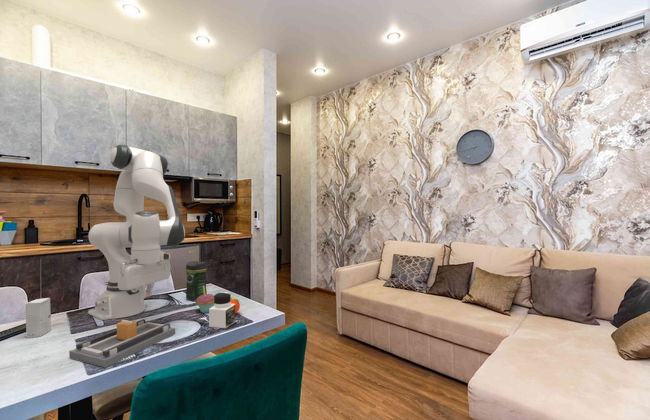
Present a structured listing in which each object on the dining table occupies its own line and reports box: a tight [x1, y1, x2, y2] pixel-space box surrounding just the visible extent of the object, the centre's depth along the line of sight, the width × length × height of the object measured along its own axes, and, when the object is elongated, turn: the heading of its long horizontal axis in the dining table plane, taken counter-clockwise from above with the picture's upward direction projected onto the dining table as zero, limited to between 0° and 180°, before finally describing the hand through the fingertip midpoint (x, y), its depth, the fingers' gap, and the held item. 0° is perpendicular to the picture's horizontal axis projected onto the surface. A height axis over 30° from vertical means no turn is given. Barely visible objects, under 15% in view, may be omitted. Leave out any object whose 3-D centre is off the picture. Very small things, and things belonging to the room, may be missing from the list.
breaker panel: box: [68, 321, 176, 368], centre depth 98 cm, size 16×24×4 cm, turn 159°
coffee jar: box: [185, 260, 208, 302], centre depth 148 cm, size 10×8×19 cm
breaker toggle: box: [116, 319, 137, 340], centre depth 98 cm, size 5×3×6 cm, turn 70°
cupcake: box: [195, 285, 215, 314], centre depth 130 cm, size 9×8×12 cm
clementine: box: [230, 297, 241, 315], centre depth 126 cm, size 8×7×7 cm
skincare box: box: [25, 297, 52, 339], centre depth 107 cm, size 6×4×12 cm
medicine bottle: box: [208, 291, 236, 329], centre depth 115 cm, size 7×7×12 cm
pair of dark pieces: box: [75, 318, 171, 356], centre depth 98 cm, size 13×22×1 cm, turn 159°
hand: (146, 297), depth 104 cm, fingers closed
